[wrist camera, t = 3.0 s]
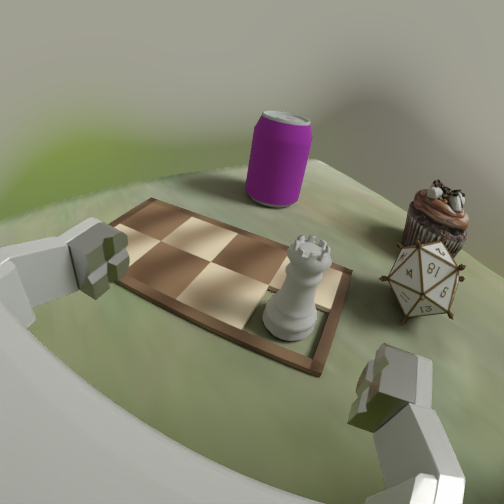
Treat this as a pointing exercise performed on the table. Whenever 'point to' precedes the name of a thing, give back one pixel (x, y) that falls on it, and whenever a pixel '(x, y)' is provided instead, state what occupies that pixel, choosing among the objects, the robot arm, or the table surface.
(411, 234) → the cupcake
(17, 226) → the table surface
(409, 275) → the game die
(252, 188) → the beverage can
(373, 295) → the table surface
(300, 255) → the rook chess piece
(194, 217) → the board
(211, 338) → the table surface
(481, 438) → the table surface
